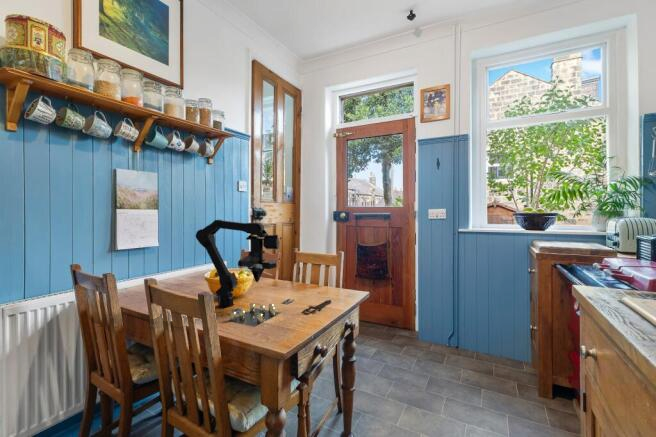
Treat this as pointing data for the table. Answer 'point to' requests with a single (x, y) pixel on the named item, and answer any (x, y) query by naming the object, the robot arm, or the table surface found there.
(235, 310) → the nut
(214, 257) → the robot arm
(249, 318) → the spacer plate
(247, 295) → the table surface
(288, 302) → the pliers
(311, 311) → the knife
